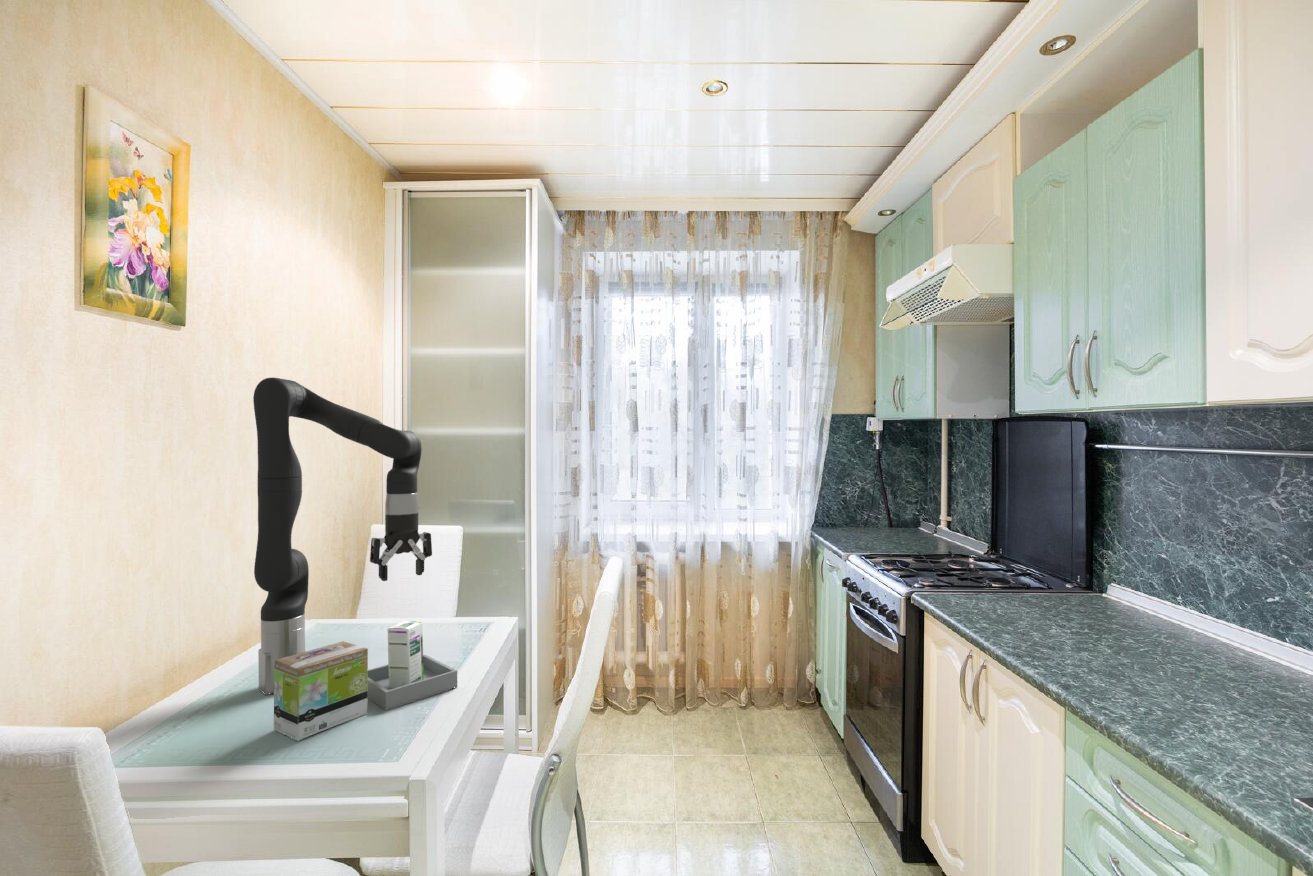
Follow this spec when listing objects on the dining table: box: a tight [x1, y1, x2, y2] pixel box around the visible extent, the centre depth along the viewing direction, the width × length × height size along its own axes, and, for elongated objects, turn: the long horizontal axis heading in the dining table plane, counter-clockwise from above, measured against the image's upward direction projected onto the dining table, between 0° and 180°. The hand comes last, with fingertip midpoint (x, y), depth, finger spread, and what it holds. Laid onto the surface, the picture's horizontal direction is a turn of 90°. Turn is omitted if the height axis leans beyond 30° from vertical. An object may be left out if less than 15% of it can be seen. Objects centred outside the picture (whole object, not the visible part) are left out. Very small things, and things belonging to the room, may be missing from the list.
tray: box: [367, 654, 458, 711], centre depth 146 cm, size 17×17×4 cm
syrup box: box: [387, 620, 424, 688], centre depth 146 cm, size 6×6×14 cm
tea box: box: [273, 640, 369, 742], centre depth 129 cm, size 15×10×15 cm
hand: (401, 577), depth 149 cm, fingers open, 8 cm apart
